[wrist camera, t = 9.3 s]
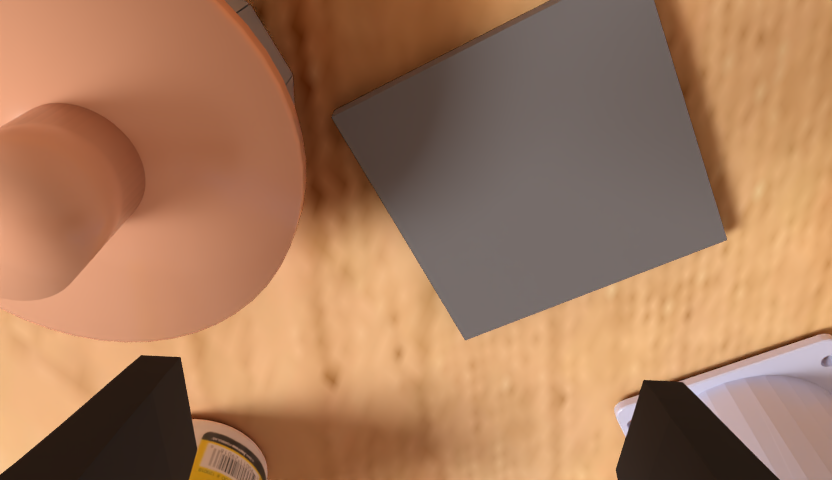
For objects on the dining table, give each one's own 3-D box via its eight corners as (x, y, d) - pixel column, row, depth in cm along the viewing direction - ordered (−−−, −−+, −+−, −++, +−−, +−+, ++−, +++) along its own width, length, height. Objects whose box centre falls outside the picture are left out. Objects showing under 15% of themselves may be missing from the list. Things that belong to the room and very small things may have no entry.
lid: (383, 229, 16) (372, 324, 12) (87, 372, 18) (11, 480, 15) (105, -196, 11) (-29, -227, 8) (-234, 69, 14) (-442, 129, 10)
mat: (719, 230, 20) (727, 240, 19) (464, 329, 22) (465, 340, 22) (634, -43, 16) (641, -41, 15) (334, 110, 18) (331, 117, 18)
